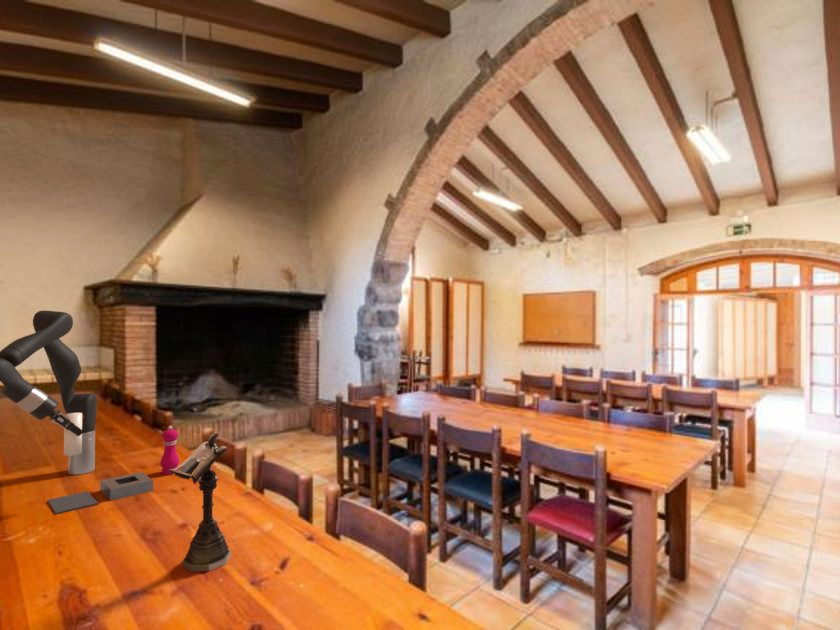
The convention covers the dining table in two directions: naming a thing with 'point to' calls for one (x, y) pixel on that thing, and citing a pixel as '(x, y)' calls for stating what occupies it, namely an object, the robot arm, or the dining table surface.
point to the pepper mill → (169, 451)
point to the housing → (126, 485)
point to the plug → (73, 435)
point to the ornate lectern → (205, 510)
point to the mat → (72, 502)
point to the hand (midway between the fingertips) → (79, 432)
